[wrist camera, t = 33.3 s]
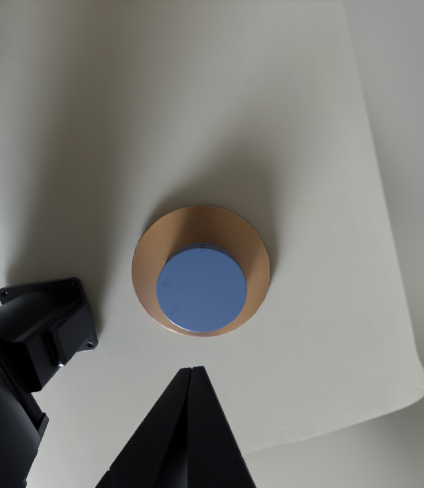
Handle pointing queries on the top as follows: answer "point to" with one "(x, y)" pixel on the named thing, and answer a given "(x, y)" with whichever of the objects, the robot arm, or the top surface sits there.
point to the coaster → (200, 231)
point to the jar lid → (201, 287)
